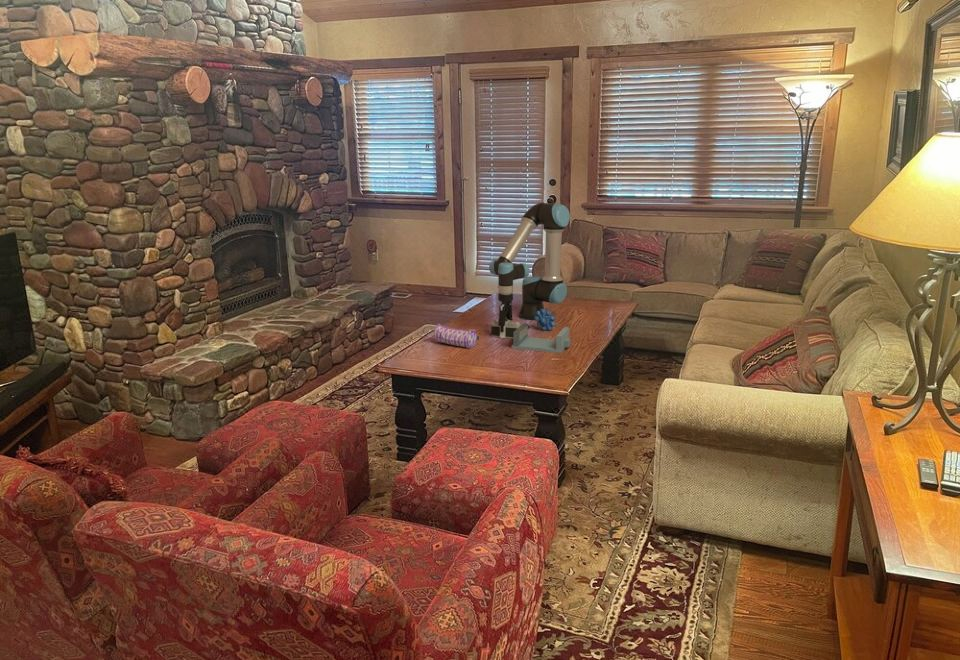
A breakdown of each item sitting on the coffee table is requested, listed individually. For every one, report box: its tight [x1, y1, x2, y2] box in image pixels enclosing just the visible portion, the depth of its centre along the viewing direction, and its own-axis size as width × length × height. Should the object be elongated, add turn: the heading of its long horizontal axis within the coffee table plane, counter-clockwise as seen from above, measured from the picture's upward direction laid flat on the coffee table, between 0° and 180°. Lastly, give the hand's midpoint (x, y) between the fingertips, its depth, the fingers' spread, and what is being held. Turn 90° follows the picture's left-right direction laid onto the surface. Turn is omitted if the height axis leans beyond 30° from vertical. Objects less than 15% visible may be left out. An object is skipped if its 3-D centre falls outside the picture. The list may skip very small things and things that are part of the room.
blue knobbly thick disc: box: [534, 308, 557, 332], centre depth 373 cm, size 12×7×12 cm, turn 69°
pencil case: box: [433, 323, 480, 349], centre depth 352 cm, size 22×9×10 cm, turn 62°
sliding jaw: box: [513, 323, 531, 346], centre depth 354 cm, size 22×3×7 cm, turn 160°
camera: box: [490, 318, 522, 339], centre depth 366 cm, size 16×9×10 cm, turn 70°
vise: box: [511, 326, 571, 354], centre depth 348 cm, size 16×27×8 cm, turn 70°
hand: (505, 335), depth 367 cm, fingers open, 9 cm apart
